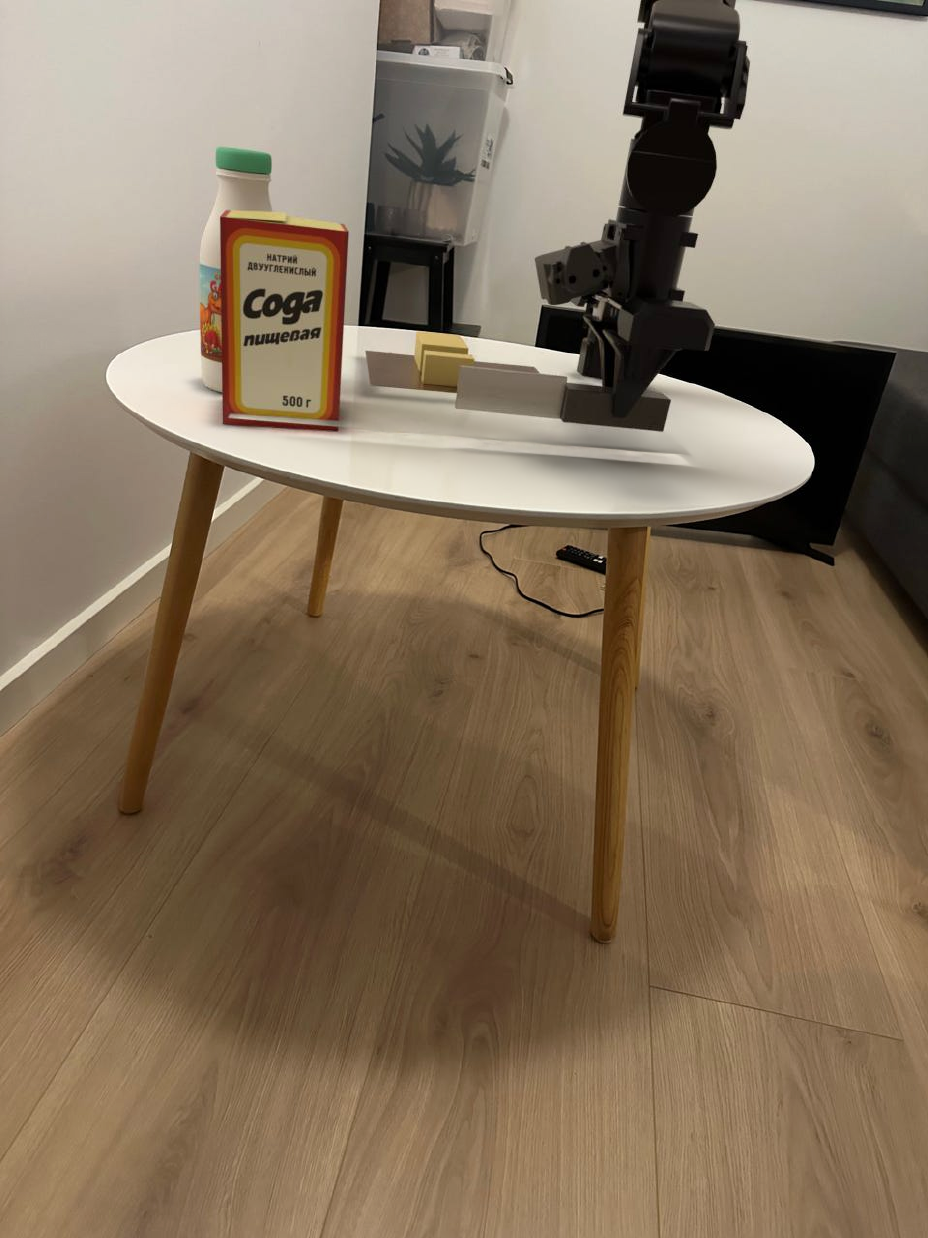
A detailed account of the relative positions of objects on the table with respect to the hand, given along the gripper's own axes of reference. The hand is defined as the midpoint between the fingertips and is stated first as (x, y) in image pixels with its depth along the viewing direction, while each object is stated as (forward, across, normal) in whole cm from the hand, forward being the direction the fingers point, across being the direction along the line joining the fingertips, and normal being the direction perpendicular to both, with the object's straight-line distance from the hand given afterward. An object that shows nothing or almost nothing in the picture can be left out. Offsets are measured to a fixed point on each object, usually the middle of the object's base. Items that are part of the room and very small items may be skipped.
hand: (613, 412), depth 73 cm
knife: (+1, 0, -5) cm, 5 cm away
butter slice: (+3, -18, -12) cm, 22 cm away
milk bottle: (+4, -14, -32) cm, 35 cm away
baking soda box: (+4, -5, -28) cm, 29 cm away
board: (+4, -23, -10) cm, 25 cm away
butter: (+3, -26, -12) cm, 29 cm away
